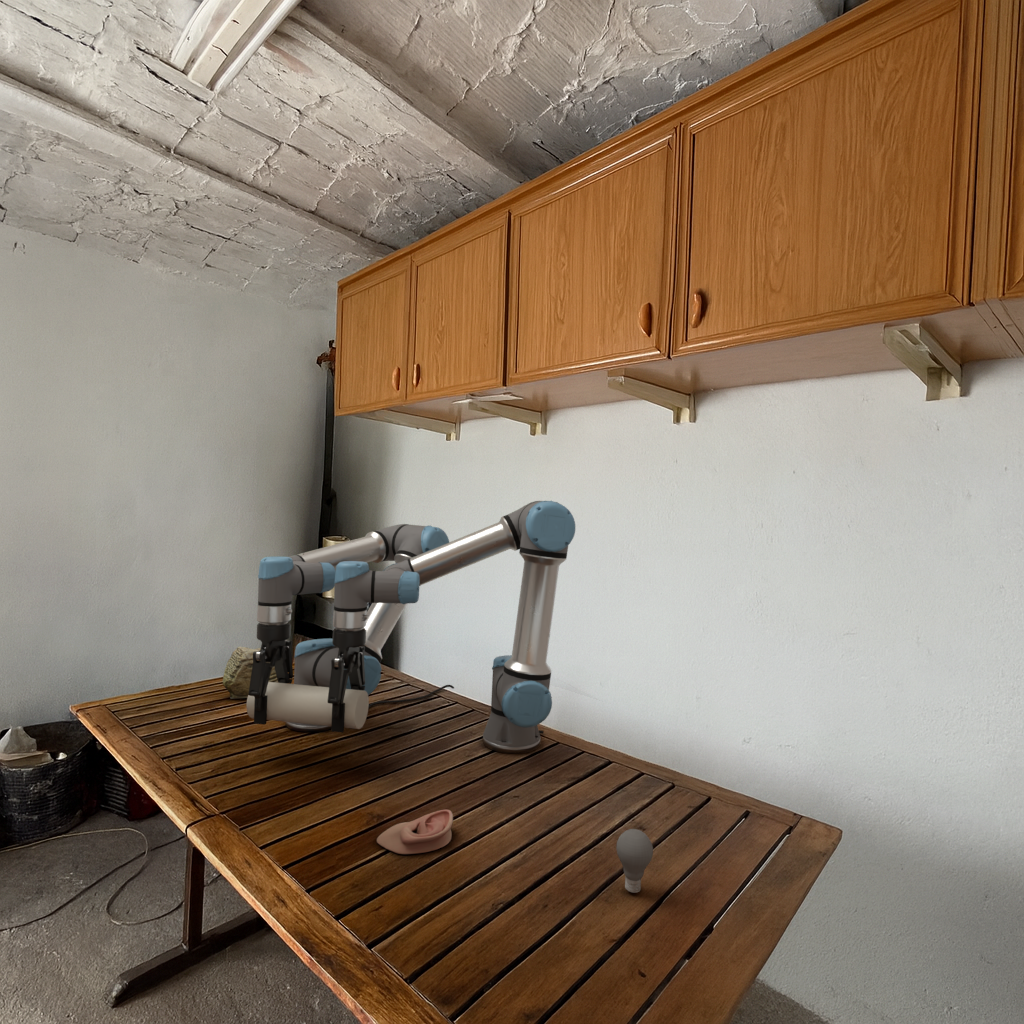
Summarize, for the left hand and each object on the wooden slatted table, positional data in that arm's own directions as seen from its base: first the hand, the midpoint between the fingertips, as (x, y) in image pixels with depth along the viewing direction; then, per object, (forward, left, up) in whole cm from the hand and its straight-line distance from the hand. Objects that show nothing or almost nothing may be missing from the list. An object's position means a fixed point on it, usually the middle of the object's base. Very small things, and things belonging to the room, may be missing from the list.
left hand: (270, 716), depth 150 cm
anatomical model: (0, +51, -10) cm, 52 cm away
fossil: (-23, -47, -10) cm, 54 cm away
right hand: (-9, +16, 0) cm, 19 cm away
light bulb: (-14, +89, -10) cm, 91 cm away
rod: (-5, +8, 0) cm, 9 cm away
